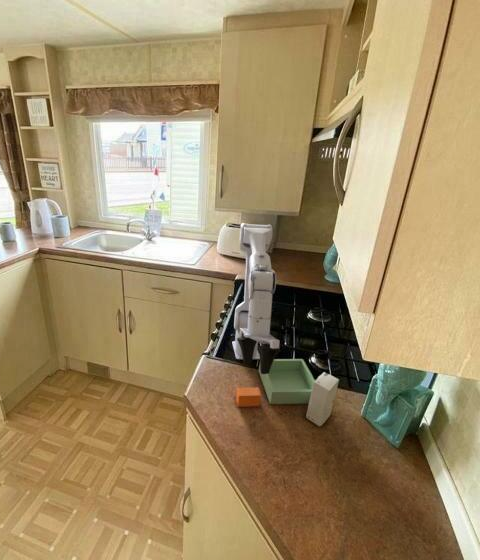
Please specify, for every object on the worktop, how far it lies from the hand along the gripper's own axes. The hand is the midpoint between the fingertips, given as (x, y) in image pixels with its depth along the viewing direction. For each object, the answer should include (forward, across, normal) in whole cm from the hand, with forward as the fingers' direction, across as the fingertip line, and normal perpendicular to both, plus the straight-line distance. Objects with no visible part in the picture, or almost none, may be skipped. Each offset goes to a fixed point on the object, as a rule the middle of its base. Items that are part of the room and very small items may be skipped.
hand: (255, 368), depth 82 cm
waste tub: (+8, -5, +16) cm, 18 cm away
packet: (+11, -5, +2) cm, 12 cm away
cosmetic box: (+12, +6, +17) cm, 22 cm away
